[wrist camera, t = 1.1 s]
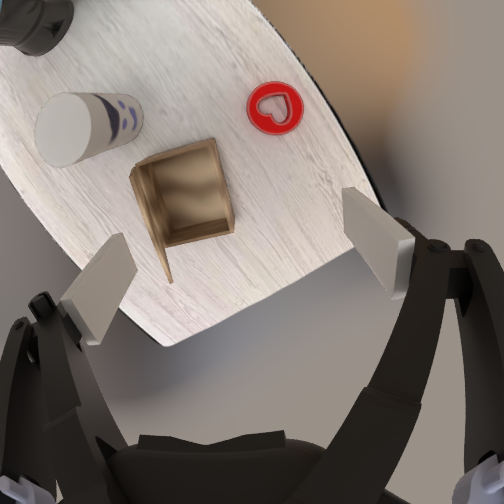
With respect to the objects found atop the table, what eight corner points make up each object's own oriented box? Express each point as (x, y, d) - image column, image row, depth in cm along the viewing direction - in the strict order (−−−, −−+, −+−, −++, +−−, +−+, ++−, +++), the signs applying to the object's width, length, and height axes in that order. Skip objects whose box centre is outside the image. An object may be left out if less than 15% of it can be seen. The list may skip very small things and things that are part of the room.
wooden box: (147, 157, 47) (134, 164, 41) (214, 137, 46) (210, 141, 40) (172, 232, 55) (164, 248, 49) (234, 217, 54) (234, 232, 48)
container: (152, 128, 45) (102, 141, 27) (110, 154, 46) (51, 181, 29) (130, 84, 40) (73, 77, 23) (90, 113, 42) (24, 123, 24)
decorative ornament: (304, 89, 43) (308, 88, 40) (294, 138, 47) (298, 140, 44) (251, 78, 42) (252, 76, 39) (242, 129, 46) (242, 130, 43)
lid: (135, 166, 40) (132, 167, 40) (132, 175, 30) (128, 177, 30) (164, 249, 47) (161, 250, 47) (173, 282, 37) (169, 284, 37)
